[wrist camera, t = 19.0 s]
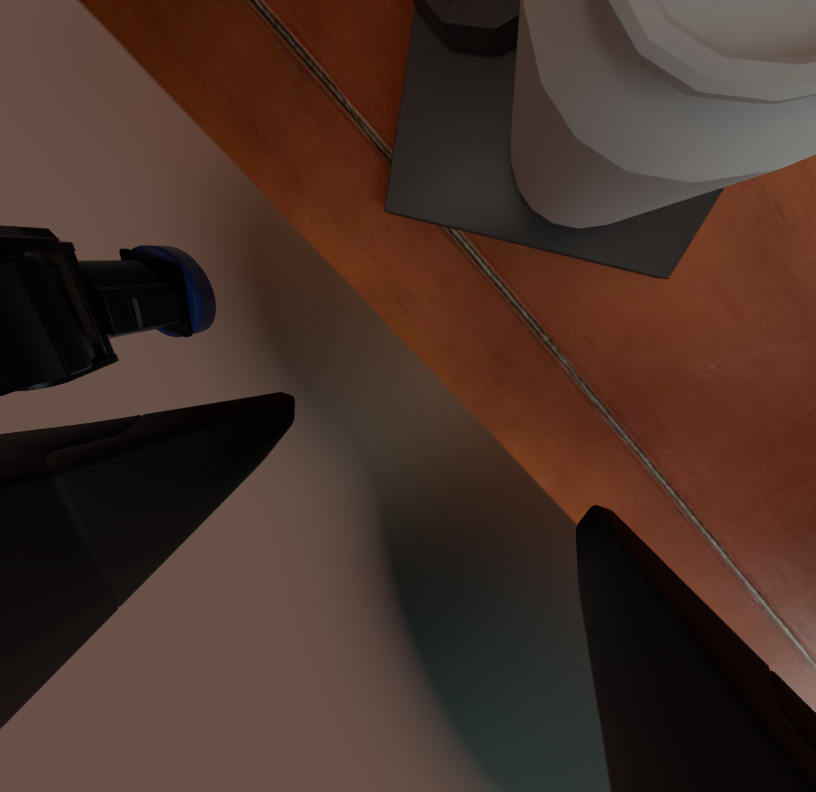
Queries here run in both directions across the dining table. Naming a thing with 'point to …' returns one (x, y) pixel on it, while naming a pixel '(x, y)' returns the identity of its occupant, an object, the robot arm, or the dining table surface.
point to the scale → (499, 148)
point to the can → (657, 101)
